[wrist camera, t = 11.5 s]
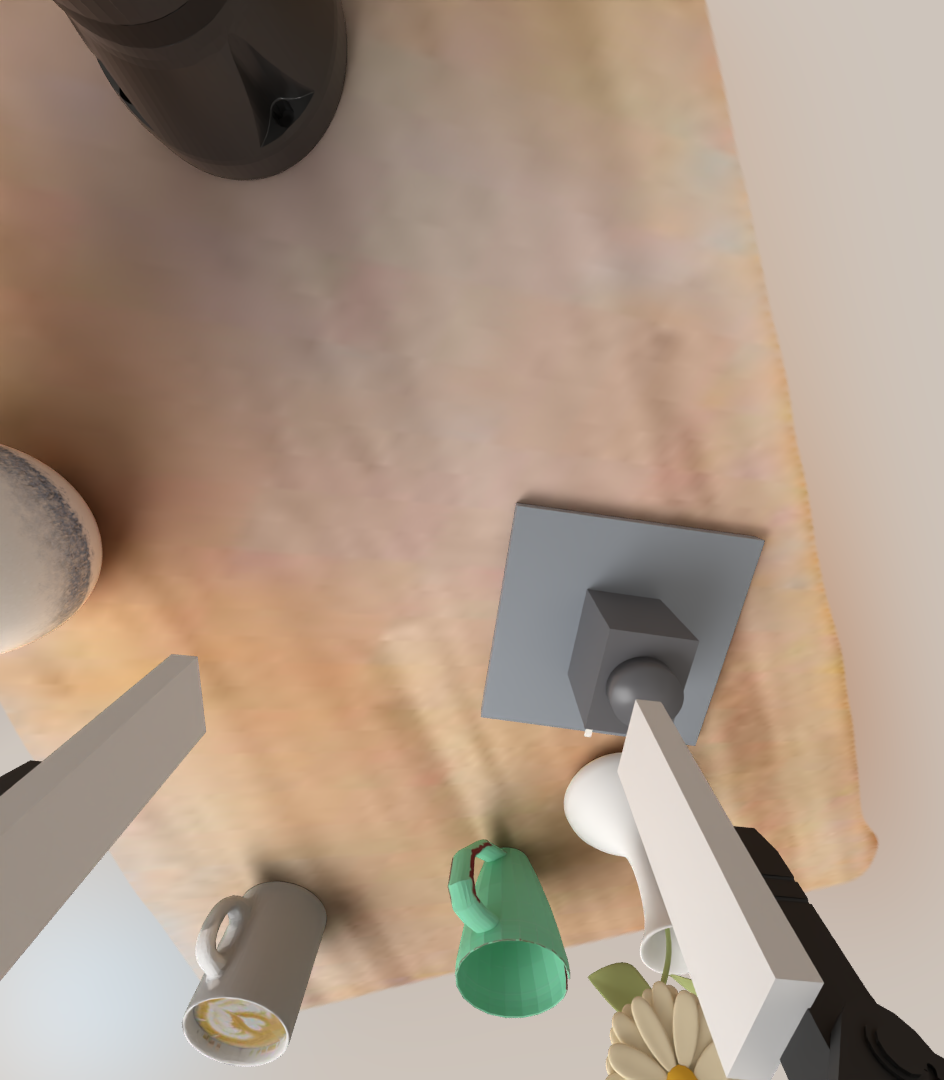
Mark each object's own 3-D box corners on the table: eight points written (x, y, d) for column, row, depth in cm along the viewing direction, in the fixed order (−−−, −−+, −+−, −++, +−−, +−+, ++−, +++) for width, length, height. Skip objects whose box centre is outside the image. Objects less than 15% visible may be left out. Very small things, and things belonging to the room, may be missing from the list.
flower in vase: (694, 755, 42) (968, 1201, 18) (652, 842, 46) (839, 1320, 22) (564, 725, 42) (672, 1145, 18) (531, 816, 45) (585, 1276, 21)
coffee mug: (339, 936, 51) (305, 1059, 41) (260, 950, 52) (210, 1073, 42) (295, 850, 47) (247, 962, 38) (212, 867, 48) (144, 980, 39)
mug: (568, 878, 47) (590, 997, 38) (489, 909, 49) (490, 1031, 39) (502, 782, 44) (507, 885, 34) (419, 818, 46) (402, 927, 36)
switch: (516, 502, 36) (521, 518, 31) (755, 536, 36) (804, 558, 31) (480, 713, 42) (480, 758, 36) (687, 741, 42) (718, 790, 37)
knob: (586, 589, 37) (617, 641, 28) (660, 599, 37) (711, 654, 28) (567, 674, 39) (590, 745, 31) (636, 683, 39) (677, 757, 31)
